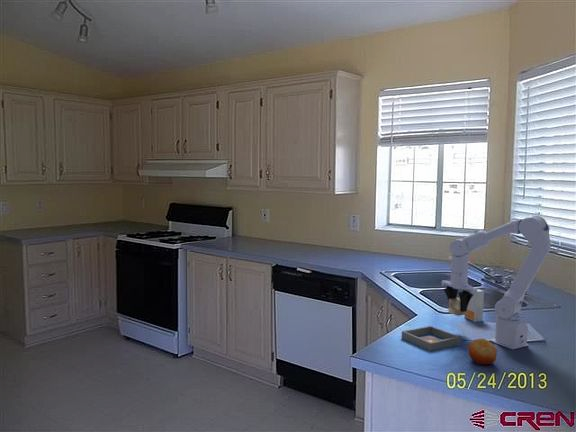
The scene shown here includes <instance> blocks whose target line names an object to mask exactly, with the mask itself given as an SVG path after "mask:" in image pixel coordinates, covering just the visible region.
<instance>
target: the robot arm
mask: <svg viewBox="0 0 576 432" xmlns="http://www.w3.org/2000/svg"><path fill="white" fill-rule="evenodd" d="M509 234H515V235H522V236H523V238H524V239H525V240H526V241H528V243H529V246H530V251H529V252H528V254H527V256H526V258H525V259H524V262H523V264H522V265H521V266H520V268H519V270H518V272H517V274H516V276H515V277H514V279H513V280H512V283H511V284H510V286H509V288H508V290H507V291H506V292H505V293H504V295H502V298H501V299H500V300H498V301H497V302H496V303H495V304H494V307H493V308H494V312H495V314H496V315H495V337H493V338H489V339H488V341H489V342H491V343H493V344H494V343H495V344H497V345H500V346H503V347H505V348H507V349H510V350H516V349H520V348H525V347H528V346H529V344H528V324H527V323H526V322H524V321H522V320H521V316H520V314H519V313H520V312H521V310H522V308H523V300H524V299H525V295H526V292H527V291H528V289H529V287H530V286H531V284H532V282H533V280H534V279H535V277H536V275H537V273H538V271H539V270H540V268H541V266H542V264H543V263H544V261H545V259H546V258H547V256H548V254H549V253H550V251H551V239H550V238H551V237H550V226H549V224H548V223H547V220H546V219H545V218H544V217H543V216H541V215H540V216H539V215H534V216H530V217H529V216H528V217H524V218H522V219H521V218H520V219H518V220H513V221H509V222H507V223H505V224H502V225H500V226H498V227H495V228H493V229H490V230H488V231H485V230H483V229H481V230H479V229H476V230H474V231H473V233H470V234H468V235H462V236H461V238H457V239H454V240H452V242H450V244H449V252H450V254H451V262H450V263H451V264H450V266H451V267H450V280H446V279H445V280H444V279H443V280H441V286H442V287H444V289H443V291H444V293H445V295H446V297H447V301H448V303H449V299H453V298H460V309H461V312H464V311H466V310H467V307H468V304H469V301H470V299H471V298H472V296H473V295H474V294H477V289H478V287H474V286H472V285H469V283H468V279H469V278H468V277H469V255H470V254H469V253H473V252H475V251H477V250H480V249H483V248H486V247H488V246H489V245H490V243H491V241H493V240H495V239H498V238H501V237H505V236H506V235H509ZM445 287H446V288H445ZM459 291H460V292H459ZM457 295H458V296H459V297H457Z"/></svg>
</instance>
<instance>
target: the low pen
mask: <svg viewBox="0 0 576 432" xmlns="http://www.w3.org/2000/svg"><path fill="white" fill-rule="evenodd" d="M430 334H431V335H432V336H433V335H434V336H436V337H437V338H441V339H440V341H435V342H429V341H426V340H424V339H422V337H419V336H425V335H430ZM401 339H402V340H404V341H407V342H409V343H411V344H413V345H416V346H418V347H421V348H422V349H425V350H427V351H429V352H432V351H438V350H441V349H446V348H450V347H454V346H458V345H461V339H462V337H461V336H460V335H459V336H458V335H457V334H453V333H450V332H449V331H446V330H443V329H441V328H437V327H435V326H433V325H428V326H423V327H417V328H412V329H406V330H401Z"/></svg>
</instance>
